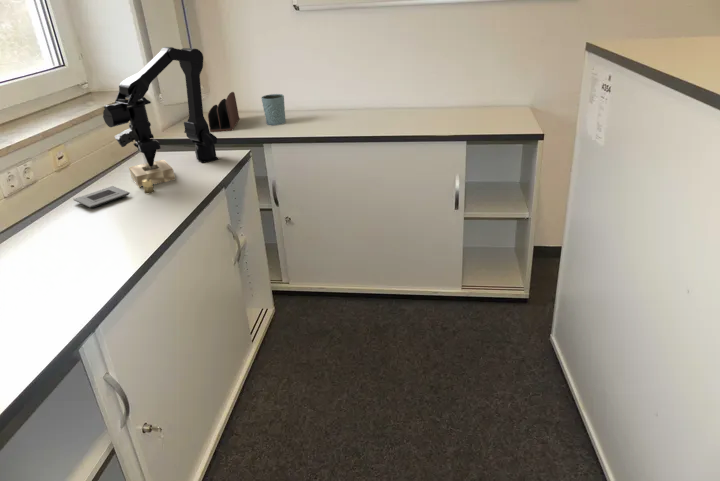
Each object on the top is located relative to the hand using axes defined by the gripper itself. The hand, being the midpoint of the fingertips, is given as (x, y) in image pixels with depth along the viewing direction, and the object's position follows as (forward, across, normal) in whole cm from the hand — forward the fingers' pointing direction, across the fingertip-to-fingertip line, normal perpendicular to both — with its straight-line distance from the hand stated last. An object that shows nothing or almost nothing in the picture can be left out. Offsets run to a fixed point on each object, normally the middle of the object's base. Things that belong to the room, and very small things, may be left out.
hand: (149, 164), depth 185 cm
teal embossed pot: (+5, -39, +64) cm, 75 cm away
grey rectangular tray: (+6, +10, -18) cm, 21 cm away
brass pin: (+5, +12, -4) cm, 14 cm away
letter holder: (+6, -51, +44) cm, 68 cm away
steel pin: (+4, 0, 0) cm, 4 cm away
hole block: (+5, 0, 0) cm, 5 cm away
